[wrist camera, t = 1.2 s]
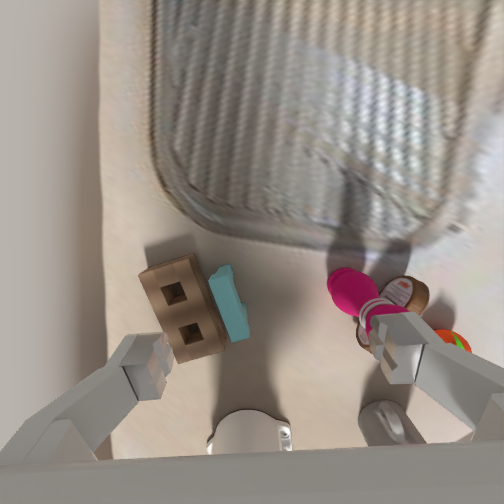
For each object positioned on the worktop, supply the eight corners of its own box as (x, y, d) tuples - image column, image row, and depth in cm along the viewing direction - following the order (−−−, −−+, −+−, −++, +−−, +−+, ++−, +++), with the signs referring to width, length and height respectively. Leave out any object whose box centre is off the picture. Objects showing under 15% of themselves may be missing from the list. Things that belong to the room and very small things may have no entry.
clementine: (413, 321, 46) (441, 342, 39) (449, 314, 46) (484, 335, 39) (415, 356, 48) (443, 383, 41) (450, 350, 48) (484, 376, 41)
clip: (250, 313, 46) (249, 337, 38) (235, 318, 46) (231, 342, 38) (231, 261, 44) (226, 275, 36) (215, 266, 44) (207, 281, 36)
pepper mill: (317, 276, 44) (369, 339, 25) (353, 257, 43) (435, 307, 24) (334, 307, 46) (395, 390, 26) (369, 290, 45) (459, 362, 25)
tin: (359, 338, 47) (382, 367, 39) (346, 330, 47) (366, 359, 39) (408, 275, 44) (443, 293, 36) (394, 267, 44) (427, 283, 36)
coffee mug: (403, 436, 52) (437, 490, 43) (357, 439, 53) (381, 494, 43) (407, 384, 49) (445, 430, 40) (358, 387, 50) (384, 434, 40)
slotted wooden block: (226, 338, 47) (224, 350, 43) (184, 350, 48) (178, 364, 44) (193, 253, 43) (187, 258, 39) (147, 268, 44) (137, 275, 40)
